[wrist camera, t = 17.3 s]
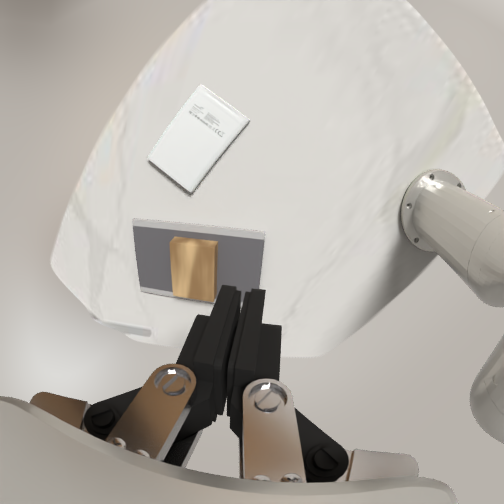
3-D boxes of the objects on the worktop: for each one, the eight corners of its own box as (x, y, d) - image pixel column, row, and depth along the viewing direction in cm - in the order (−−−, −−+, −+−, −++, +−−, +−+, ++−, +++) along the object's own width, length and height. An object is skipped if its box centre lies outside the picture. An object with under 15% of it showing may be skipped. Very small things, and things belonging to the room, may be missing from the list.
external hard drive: (151, 156, 35) (203, 84, 30) (194, 190, 37) (251, 120, 32) (146, 157, 34) (199, 83, 29) (190, 193, 35) (249, 119, 30)
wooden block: (174, 236, 39) (218, 241, 38) (177, 288, 43) (216, 294, 42) (169, 242, 37) (214, 247, 36) (173, 295, 41) (213, 302, 40)
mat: (265, 231, 38) (265, 233, 37) (256, 307, 43) (256, 309, 43) (134, 218, 39) (132, 219, 38) (142, 289, 44) (141, 291, 44)
